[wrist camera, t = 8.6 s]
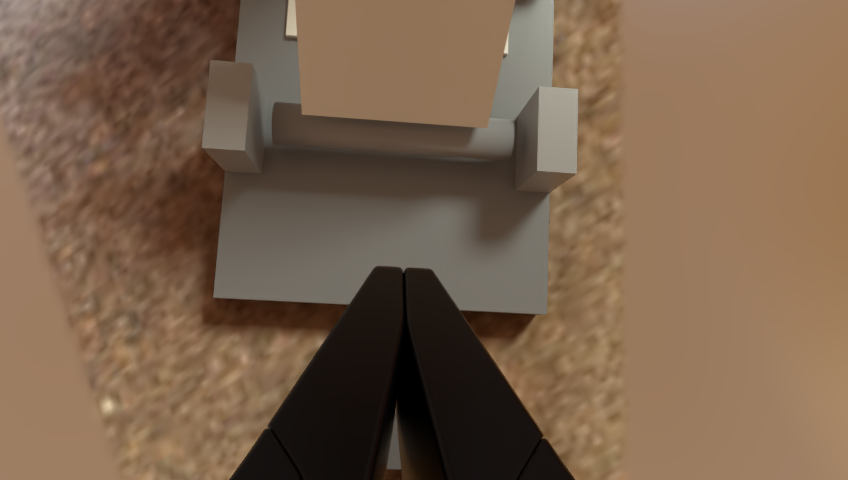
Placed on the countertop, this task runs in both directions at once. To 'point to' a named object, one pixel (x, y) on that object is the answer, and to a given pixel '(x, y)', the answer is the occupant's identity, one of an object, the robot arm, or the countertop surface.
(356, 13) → the lever
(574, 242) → the countertop surface
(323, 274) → the grey twin-post base
